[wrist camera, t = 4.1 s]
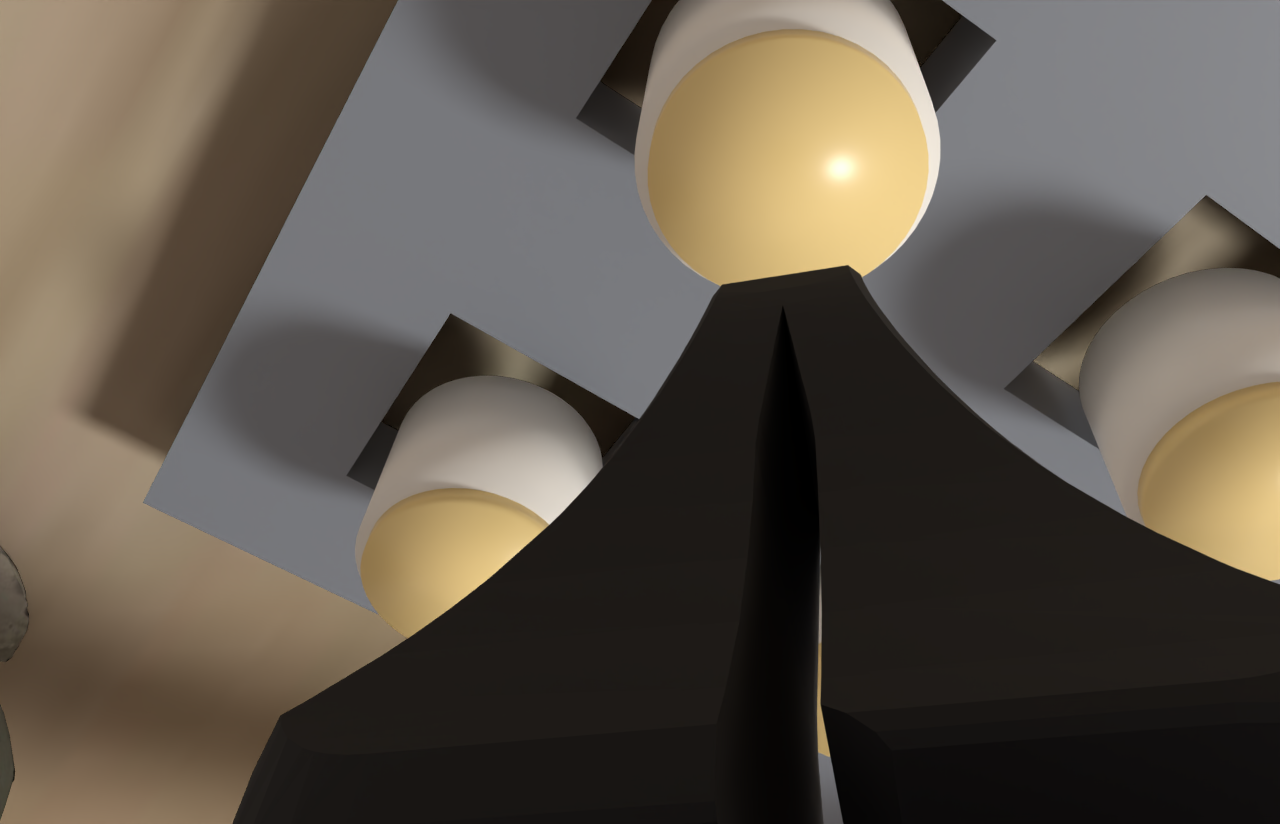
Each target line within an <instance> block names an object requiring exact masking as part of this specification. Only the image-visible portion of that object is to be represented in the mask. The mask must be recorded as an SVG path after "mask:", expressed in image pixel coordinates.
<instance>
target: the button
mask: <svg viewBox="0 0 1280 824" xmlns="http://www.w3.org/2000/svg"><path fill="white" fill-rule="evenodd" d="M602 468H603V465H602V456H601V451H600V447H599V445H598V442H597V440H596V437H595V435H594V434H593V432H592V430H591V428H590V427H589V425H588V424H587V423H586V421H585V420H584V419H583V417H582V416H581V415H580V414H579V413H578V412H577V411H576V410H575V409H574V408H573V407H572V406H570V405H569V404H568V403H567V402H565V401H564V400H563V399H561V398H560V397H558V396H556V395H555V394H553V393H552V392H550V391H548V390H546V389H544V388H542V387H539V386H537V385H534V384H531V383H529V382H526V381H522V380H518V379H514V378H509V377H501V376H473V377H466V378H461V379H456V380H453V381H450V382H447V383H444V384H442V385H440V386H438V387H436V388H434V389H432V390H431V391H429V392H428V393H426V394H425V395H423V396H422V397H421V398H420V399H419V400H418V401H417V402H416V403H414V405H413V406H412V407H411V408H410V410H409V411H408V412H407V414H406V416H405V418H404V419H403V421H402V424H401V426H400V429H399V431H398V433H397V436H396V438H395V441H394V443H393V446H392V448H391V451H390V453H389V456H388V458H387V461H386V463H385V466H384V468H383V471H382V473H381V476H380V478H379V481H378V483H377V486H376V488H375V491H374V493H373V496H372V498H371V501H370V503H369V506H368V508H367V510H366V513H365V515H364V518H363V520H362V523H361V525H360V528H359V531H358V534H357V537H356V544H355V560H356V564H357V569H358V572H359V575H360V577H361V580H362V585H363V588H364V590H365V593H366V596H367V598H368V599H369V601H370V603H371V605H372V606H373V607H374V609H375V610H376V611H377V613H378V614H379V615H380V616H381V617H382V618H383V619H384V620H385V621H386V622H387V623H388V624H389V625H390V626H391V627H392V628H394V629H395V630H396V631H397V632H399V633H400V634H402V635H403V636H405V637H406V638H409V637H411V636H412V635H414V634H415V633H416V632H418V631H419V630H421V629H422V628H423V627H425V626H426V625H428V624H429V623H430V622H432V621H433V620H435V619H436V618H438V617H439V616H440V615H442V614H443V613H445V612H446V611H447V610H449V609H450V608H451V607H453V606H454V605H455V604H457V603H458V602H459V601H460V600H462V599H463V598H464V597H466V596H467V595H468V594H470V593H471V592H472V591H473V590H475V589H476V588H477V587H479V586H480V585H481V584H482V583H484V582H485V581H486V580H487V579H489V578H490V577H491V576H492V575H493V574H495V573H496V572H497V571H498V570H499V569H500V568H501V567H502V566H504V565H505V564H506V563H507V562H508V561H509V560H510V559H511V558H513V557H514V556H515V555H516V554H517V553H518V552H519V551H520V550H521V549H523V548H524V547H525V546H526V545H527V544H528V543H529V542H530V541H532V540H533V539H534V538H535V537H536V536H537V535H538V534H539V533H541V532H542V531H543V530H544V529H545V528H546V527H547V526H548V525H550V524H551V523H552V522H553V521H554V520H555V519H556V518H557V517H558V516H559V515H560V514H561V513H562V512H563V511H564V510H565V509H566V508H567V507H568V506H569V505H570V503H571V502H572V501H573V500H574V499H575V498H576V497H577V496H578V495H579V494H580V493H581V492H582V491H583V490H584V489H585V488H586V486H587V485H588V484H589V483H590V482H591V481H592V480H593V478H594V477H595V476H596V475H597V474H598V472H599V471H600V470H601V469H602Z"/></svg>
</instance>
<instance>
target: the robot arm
mask: <svg viewBox="0 0 1280 824" xmlns="http://www.w3.org/2000/svg"><path fill="white" fill-rule="evenodd" d="M820 552H821V602H822V638H821V699H820V705H821V710H822V716H823V721H824V726H825V731H826V736H827V742H828V747H829V752H830V757H831V763H832V768H833V773H834V778H835V783H836V789H837V794H838V799H839V804H840V809H841V815H842V820H843V824H1280V584H1277V583H1275V582H1272V581H1269V580H1266V579H1264V578H1261V577H1258V576H1256V575H1253V574H1250V573H1247V572H1245V571H1242V570H1239V569H1237V568H1234V567H1232V566H1229V565H1227V564H1225V563H1222V562H1220V561H1218V560H1215V559H1213V558H1211V557H1209V556H1207V555H1205V554H1202V553H1200V552H1198V551H1196V550H1194V549H1192V548H1189V547H1187V546H1185V545H1183V544H1181V543H1179V542H1176V541H1174V540H1172V539H1170V538H1168V537H1166V536H1163V535H1161V534H1159V533H1157V532H1155V531H1153V530H1151V529H1149V528H1147V527H1145V526H1143V525H1141V524H1139V523H1138V522H1136V521H1134V520H1132V519H1130V518H1128V517H1126V516H1124V515H1122V514H1121V513H1119V512H1117V511H1116V510H1114V509H1112V508H1110V507H1109V506H1107V505H1105V504H1103V503H1102V502H1100V501H1098V500H1097V499H1095V498H1093V497H1091V496H1090V495H1088V494H1086V493H1084V492H1083V491H1081V490H1079V489H1077V488H1076V487H1074V486H1072V485H1071V484H1069V483H1067V482H1066V481H1064V480H1063V479H1061V478H1060V477H1058V476H1057V475H1055V474H1054V473H1052V472H1051V471H1049V470H1048V469H1046V468H1045V467H1043V466H1042V465H1041V464H1039V463H1038V462H1037V461H1035V460H1034V459H1033V458H1031V457H1030V456H1029V455H1027V454H1026V453H1025V452H1023V451H1022V450H1021V449H1019V448H1018V447H1017V446H1015V445H1014V444H1012V443H1011V442H1010V441H1009V440H1007V439H1006V438H1005V437H1004V436H1002V435H1001V434H1000V433H999V432H998V431H996V430H995V429H994V428H993V427H992V426H990V425H989V424H988V423H987V422H986V421H985V420H983V419H982V418H981V417H980V416H979V415H978V414H976V413H975V412H974V411H973V410H972V409H971V408H970V407H969V406H968V405H967V404H966V403H965V402H964V401H962V400H961V399H960V398H959V397H958V396H957V395H956V394H955V393H954V392H953V391H952V390H951V389H950V388H949V387H948V386H947V385H946V384H945V383H944V382H943V381H942V380H941V379H940V378H939V377H938V376H937V375H936V374H935V373H934V372H933V371H932V370H931V369H930V368H929V367H928V365H927V364H926V363H925V362H924V361H923V360H922V359H921V358H920V357H919V355H918V354H917V353H916V352H915V351H914V350H913V349H912V348H911V347H910V345H909V344H908V343H907V342H906V341H905V340H904V339H903V337H902V336H901V335H900V334H899V332H898V331H897V330H896V329H895V328H894V326H893V325H892V324H891V322H890V321H889V320H888V318H887V317H886V316H885V314H884V313H883V312H882V310H881V309H880V307H879V306H878V305H877V303H876V302H875V300H874V299H873V297H872V295H871V294H870V292H869V291H868V289H867V287H866V285H865V283H864V281H863V279H862V276H861V274H860V273H858V272H857V271H855V270H854V269H853V268H851V267H850V266H849V265H845V266H839V267H832V268H826V269H819V270H813V271H806V272H800V273H793V274H787V275H780V276H774V277H767V278H761V279H755V280H748V281H742V282H735V283H729V284H722V285H721V287H720V288H719V289H718V290H717V292H716V293H715V294H714V295H713V297H712V299H711V301H710V303H709V305H708V307H707V309H706V311H705V312H704V314H703V316H702V318H701V320H700V322H699V324H698V326H697V328H696V329H695V331H694V333H693V335H692V337H691V338H690V340H689V342H688V344H687V345H686V347H685V349H684V351H683V352H682V354H681V356H680V358H679V359H678V361H677V362H676V364H675V366H674V367H673V369H672V370H671V372H670V373H669V375H668V377H667V378H666V380H665V381H664V383H663V385H662V386H661V388H660V389H659V391H658V392H657V394H656V396H655V397H654V399H653V400H652V402H651V403H650V405H649V406H648V408H647V409H646V411H645V412H644V413H643V415H642V416H641V417H640V419H639V420H638V421H637V423H636V424H635V425H634V427H633V428H632V429H631V431H630V432H629V434H628V435H627V436H626V438H625V439H624V440H623V442H622V443H621V444H620V446H619V447H618V448H617V450H616V451H615V453H614V454H613V455H612V456H611V458H610V459H609V460H608V461H607V463H606V464H605V465H604V466H603V468H602V469H601V470H600V471H599V472H598V474H597V475H596V476H595V477H594V478H593V480H592V481H591V482H590V483H589V484H588V485H587V486H586V488H585V489H584V490H583V491H582V492H581V493H580V494H579V495H578V496H577V497H576V498H575V499H574V500H573V501H572V502H571V503H570V505H569V506H568V507H567V508H566V509H565V510H564V511H563V512H562V513H561V514H560V515H559V516H558V517H557V518H556V519H555V520H554V521H553V522H552V523H551V524H550V525H548V526H547V527H546V528H545V529H544V530H543V531H542V532H541V533H539V534H538V535H537V536H536V537H535V538H534V539H533V540H532V541H530V542H529V543H528V544H527V545H526V546H525V547H524V548H523V549H521V550H520V551H519V552H518V553H517V554H516V555H515V556H514V557H513V558H511V559H510V560H509V561H508V562H507V563H506V564H505V565H504V566H502V567H501V568H500V569H499V570H498V571H497V572H496V573H495V574H493V575H492V576H491V577H490V578H489V579H487V580H486V581H485V582H484V583H482V584H481V585H480V586H479V587H477V588H476V589H475V590H473V591H472V592H471V593H470V594H468V595H467V596H466V597H464V598H463V599H462V600H460V601H459V602H458V603H457V604H455V605H454V606H453V607H451V608H450V609H449V610H447V611H446V612H445V613H443V614H442V615H440V616H439V617H438V618H436V619H435V620H433V621H432V622H430V623H429V624H428V625H426V626H425V627H423V628H422V629H421V630H419V631H418V632H416V633H415V634H414V635H412V636H411V637H409V638H408V639H406V640H405V641H403V642H402V643H400V644H399V645H397V646H396V647H394V648H393V649H391V650H390V651H388V652H387V653H385V654H384V655H382V656H380V657H379V658H377V659H375V660H374V661H372V662H371V663H369V664H367V665H366V666H364V667H362V668H361V669H359V670H357V671H356V672H354V673H352V674H351V675H349V676H347V677H346V678H344V679H342V680H341V681H339V682H337V683H336V684H334V685H332V686H331V687H329V688H327V689H326V690H324V691H322V692H321V693H319V694H317V695H316V696H314V697H312V698H311V699H309V700H307V701H306V702H304V703H302V704H300V705H299V706H297V707H295V708H293V709H291V710H290V711H288V712H286V713H284V714H282V715H281V716H280V718H279V720H278V722H277V724H276V726H275V728H274V730H273V732H272V734H271V736H270V738H269V740H268V742H267V744H266V746H265V748H264V750H263V752H262V754H261V756H260V758H259V760H258V762H257V765H256V767H255V769H254V771H253V773H252V776H251V778H250V781H249V783H248V786H247V788H246V791H245V793H244V796H243V798H242V801H241V804H240V806H239V809H238V811H237V814H236V816H235V819H234V821H233V824H824V821H823V809H822V797H821V785H820V773H819V761H818V732H817V692H818V644H819V596H820Z"/></svg>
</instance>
